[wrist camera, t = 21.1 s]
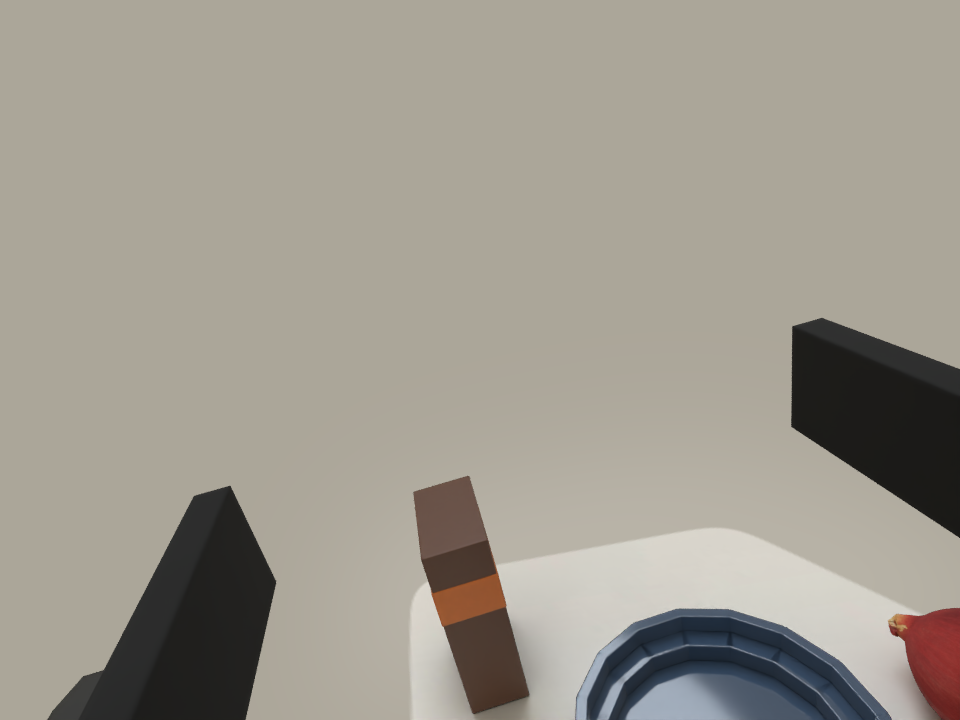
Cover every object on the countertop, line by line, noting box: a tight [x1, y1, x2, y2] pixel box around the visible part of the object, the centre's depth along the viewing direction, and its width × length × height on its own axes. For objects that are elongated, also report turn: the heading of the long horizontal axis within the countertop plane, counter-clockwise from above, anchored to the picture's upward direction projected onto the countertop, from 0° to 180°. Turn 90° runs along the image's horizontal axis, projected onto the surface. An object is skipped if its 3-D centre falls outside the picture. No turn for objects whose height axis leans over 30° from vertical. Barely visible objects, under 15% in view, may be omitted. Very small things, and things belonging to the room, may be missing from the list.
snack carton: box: [414, 476, 529, 714], centre depth 33 cm, size 4×6×12 cm, turn 11°
